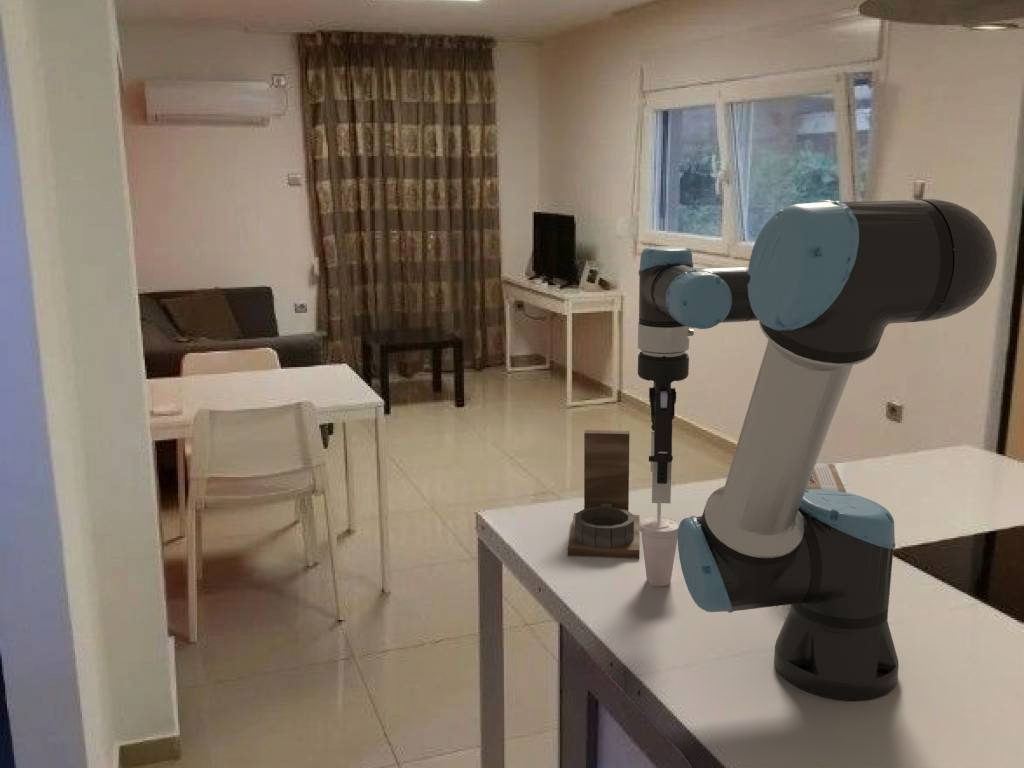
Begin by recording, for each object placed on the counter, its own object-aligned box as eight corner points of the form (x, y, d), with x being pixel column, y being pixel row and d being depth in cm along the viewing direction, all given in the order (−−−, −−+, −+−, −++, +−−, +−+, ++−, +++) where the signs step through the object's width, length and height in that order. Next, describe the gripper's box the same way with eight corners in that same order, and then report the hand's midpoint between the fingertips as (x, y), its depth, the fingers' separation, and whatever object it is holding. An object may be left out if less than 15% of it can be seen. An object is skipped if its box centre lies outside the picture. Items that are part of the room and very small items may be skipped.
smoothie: (632, 585, 145) (633, 500, 141) (646, 569, 150) (647, 488, 147) (671, 593, 142) (674, 507, 139) (684, 577, 147) (686, 494, 144)
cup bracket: (639, 558, 155) (641, 458, 151) (567, 555, 156) (567, 456, 152) (639, 522, 170) (640, 431, 166) (574, 520, 172) (573, 429, 168)
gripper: (694, 371, 125) (689, 517, 130) (685, 335, 149) (681, 461, 154) (638, 370, 126) (635, 515, 131) (638, 335, 150) (635, 459, 155)
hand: (660, 486), depth 143 cm, fingers open, 13 cm apart
